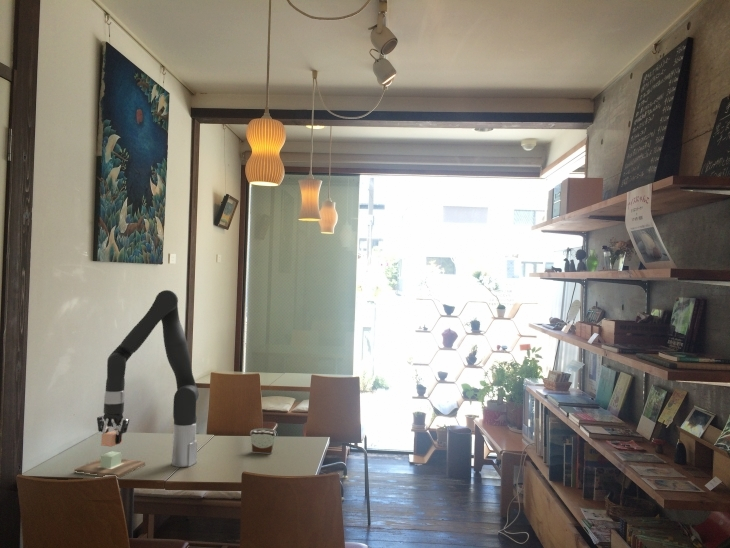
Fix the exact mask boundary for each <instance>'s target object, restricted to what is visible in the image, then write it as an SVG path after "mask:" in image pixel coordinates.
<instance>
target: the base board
mask: <svg viewBox="0 0 730 548" xmlns="http://www.w3.org/2000/svg"><path fill="white" fill-rule="evenodd" d="M100 463H101V457H100V458H99V459H95V460H94V461H90V462H89V463H86V464H84V465H81V466H79V467H76V468H74V471H77V472H84V473H90V474H97V475H100V476H99V477H102V476H105V475H116V476H117V477H120V478H122V477H123V475H124V476H126V475H128V474H130V473H132V472H133V471H132V470H134V469H136V470H138V469H139V468H138V467H140V468H142V467H144V466H146V461H142V460H133V459H126V458H121V464H119V465H117V466H114V467H112V468H107V467H100ZM143 465H144V466H143ZM141 466H142V467H141ZM137 468H138V469H137ZM131 471H132V472H131ZM134 471H135V470H134ZM129 472H130V473H129ZM127 473H128V474H127ZM125 474H126V475H125ZM121 476H122V477H121Z"/></svg>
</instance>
